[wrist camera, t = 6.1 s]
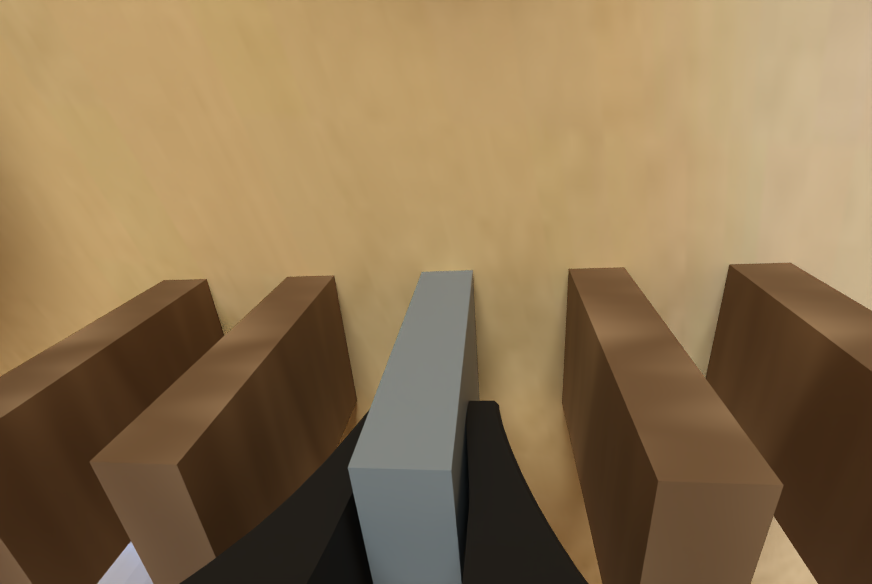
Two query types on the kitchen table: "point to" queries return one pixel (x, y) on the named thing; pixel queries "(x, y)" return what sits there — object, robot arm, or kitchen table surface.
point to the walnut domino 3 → (656, 446)
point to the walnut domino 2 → (233, 432)
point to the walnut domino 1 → (87, 429)
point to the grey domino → (421, 440)
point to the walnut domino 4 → (804, 407)
